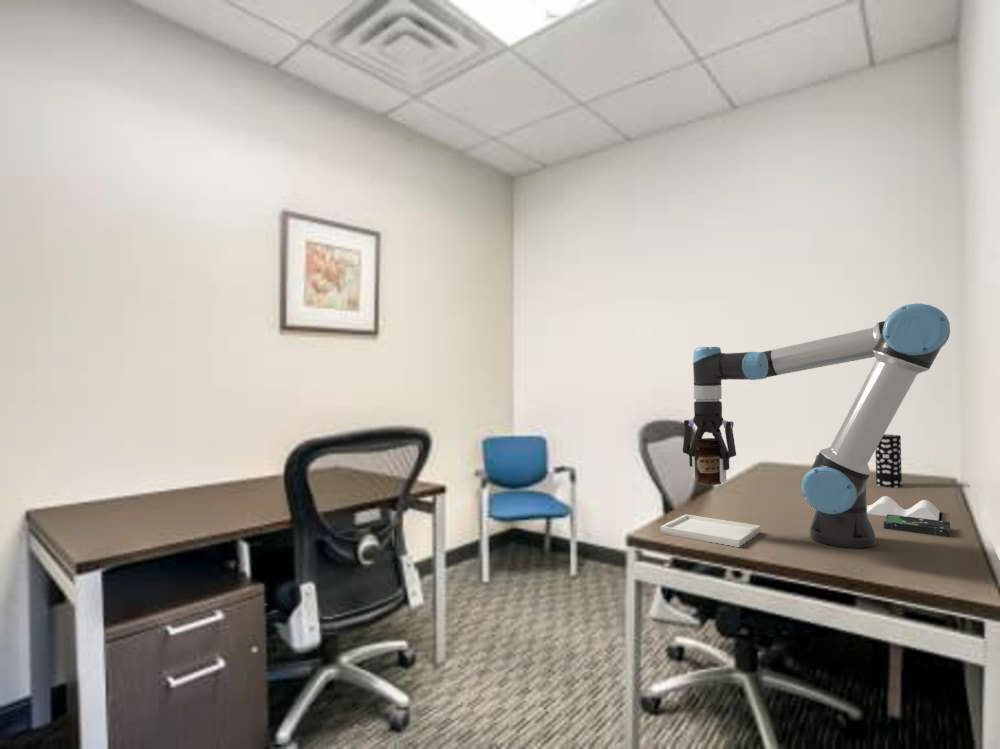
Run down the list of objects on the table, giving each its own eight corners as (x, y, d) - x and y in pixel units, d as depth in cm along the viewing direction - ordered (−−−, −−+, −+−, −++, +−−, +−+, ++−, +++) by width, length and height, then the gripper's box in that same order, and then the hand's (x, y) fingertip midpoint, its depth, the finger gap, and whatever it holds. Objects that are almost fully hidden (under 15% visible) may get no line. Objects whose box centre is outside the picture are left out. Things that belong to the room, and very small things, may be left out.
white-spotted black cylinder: (907, 487, 215) (905, 436, 215) (885, 487, 215) (884, 436, 215) (892, 483, 223) (890, 434, 223) (871, 483, 223) (870, 434, 223)
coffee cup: (727, 487, 153) (727, 440, 153) (696, 486, 155) (695, 440, 155) (722, 481, 162) (721, 437, 162) (692, 480, 164) (692, 437, 164)
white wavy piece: (943, 525, 164) (942, 507, 164) (810, 509, 186) (810, 493, 186) (944, 515, 174) (943, 499, 174) (818, 501, 196) (817, 487, 196)
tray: (760, 532, 157) (760, 525, 157) (739, 548, 144) (739, 540, 144) (685, 520, 172) (685, 514, 172) (660, 533, 158) (659, 526, 158)
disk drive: (950, 531, 157) (887, 522, 167) (950, 521, 157) (886, 513, 167) (949, 539, 149) (883, 530, 159) (949, 529, 149) (883, 520, 159)
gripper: (748, 400, 155) (750, 481, 154) (680, 399, 168) (681, 474, 168) (738, 401, 149) (740, 486, 149) (668, 400, 163) (670, 477, 163)
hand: (709, 479), depth 158 cm, fingers closed on coffee cup, 7 cm apart
